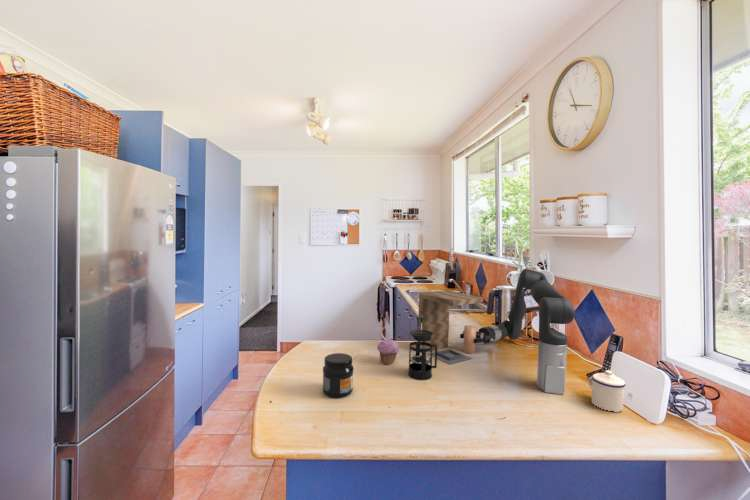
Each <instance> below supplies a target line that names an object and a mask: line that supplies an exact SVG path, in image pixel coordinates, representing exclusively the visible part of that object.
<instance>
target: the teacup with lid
mask: <svg viewBox="0 0 750 500" xmlns="http://www.w3.org/2000/svg"><path fill="white" fill-rule="evenodd" d="M587 382H588V387H589V388H590V391H591V403H592V405H593V404H594V405H593V406H595V407H596V406H597V407H596V408H598V407H599V408H598V409H600V408H601V409H600V410H603V409H604V410H603V411H606V410H608V411H607V412H610V411H614V412H613V413H620V411H621V412H623V411H624V400H625V398H624V397H625V387H626V382H625V380H624V379H622V378H621V377H618V376H616V375H615V374H614V373H613V372H612V371H611V370H607V369H605V371H604V372H597V373H594V374H593V375H592V376H590V377H589V378H588V381H587Z"/></svg>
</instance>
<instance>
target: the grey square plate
mask: <svg viewBox="0 0 750 500" xmlns="http://www.w3.org/2000/svg"><path fill="white" fill-rule="evenodd" d="M427 355H428V356H430V352H428V353H427ZM432 358H434V359H435V351H434V352H432ZM472 359H473V358H472V357H470V356H468V355H466V354H463V353H461V352H458V351H456V350H454V349H451V348H448V349H444V350H437V360H439V361H441V362H443V363H446V364H448V365H455V364H458V363H460V362H461V363H462V362H465V361H468V360H472Z"/></svg>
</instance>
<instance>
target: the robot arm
mask: <svg viewBox="0 0 750 500" xmlns="http://www.w3.org/2000/svg"><path fill="white" fill-rule="evenodd" d="M524 289H527V290H530V295H531V297H532V299H533V300H534V301H535V303H536V304H537V305H538V344H537V345H538V348H537V367H536V368H537V369H536V387H537V388H538V389H540V390H541V391H542V392H544V393H549V394H556V395H564V394H565V392H566V379H567V378H566V375H567V355H568V353H567V352H568V349H567V348H568V337H567V334H565V333H563V332H560V331H558V330H555V329H554V328H552V327H551V324H555V325H556V324H557V325H568V324H571V323H572V322H573V321H574V319H575V317H576V316H575V315H576V312H575V307H574V305H573V303H572V302H571V301H570V299H569V298H567V297H566V296H564V295H562V294H561V293H560V292H559V291H557V289H555V287H554V286H553V285H552V284H551V283H550V282H549V281H548V279H547V277H546V275H545V274H544V273H543V272H542V271H537V270H532V269H528V268H523V269H522V270H521V272H520V273H519V276H518V280H517V282H516V288H515V291H514V296H513V297H514V298H513V302H512V305H511V307H510V310H509V313H508V315H507V318H508V319H506V320H503V321H502V322H500V323H499V324H496V325H490V326H484V327H483V326H482V327H480V328H479V329H478V330H476V338H475V339H474V343H475V344H479V343H480V344H484V345H488V344H491V343H494V342H496V341H499V340H502V339H506V338H507V337H508V338H510V339H511V340H517V339H518V338H520V337H521V335H522V330H523V320H524V317H525V316H526V312H527V305H526V301H525V298H524V293H523V292H524ZM508 320H509V321H508ZM459 338H460V339H464V330H463V331H462V332H461V333H460V334H459Z"/></svg>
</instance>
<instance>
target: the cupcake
mask: <svg viewBox="0 0 750 500" xmlns="http://www.w3.org/2000/svg"><path fill="white" fill-rule="evenodd" d="M377 350H378V352H379V358H380V362H381V363H382V364H385V365H388V366H389V365H391V364H393V363H394V362H395V361H396V357H397V354H398V352H399V345H398V342H396V341H395V340H394V339H382V340H381V341H380V342H379V343H378V345H377Z"/></svg>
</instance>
